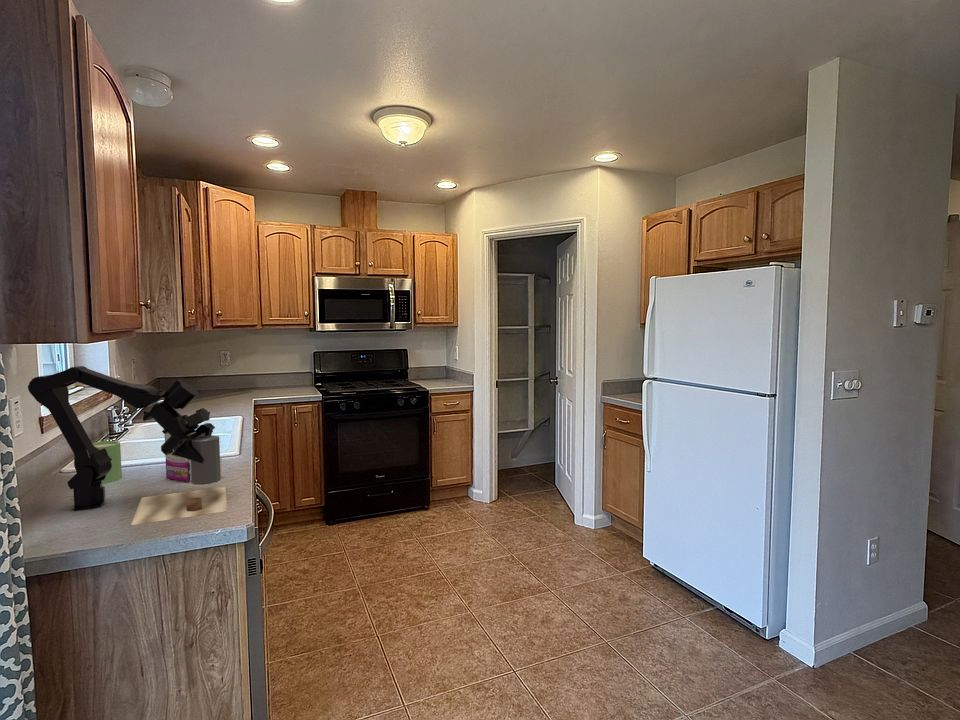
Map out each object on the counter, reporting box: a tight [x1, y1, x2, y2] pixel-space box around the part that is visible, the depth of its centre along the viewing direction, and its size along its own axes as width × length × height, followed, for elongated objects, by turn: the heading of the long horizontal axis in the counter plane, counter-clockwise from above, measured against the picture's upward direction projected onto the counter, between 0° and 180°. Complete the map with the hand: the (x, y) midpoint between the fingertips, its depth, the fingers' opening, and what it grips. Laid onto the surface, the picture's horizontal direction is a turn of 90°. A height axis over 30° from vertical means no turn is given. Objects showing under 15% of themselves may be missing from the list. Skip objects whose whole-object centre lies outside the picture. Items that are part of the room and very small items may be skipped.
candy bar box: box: [164, 433, 192, 483], centre depth 175 cm, size 11×5×16 cm, turn 68°
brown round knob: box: [186, 498, 202, 511], centre depth 145 cm, size 4×4×2 cm
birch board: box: [130, 486, 228, 526], centre depth 149 cm, size 22×24×1 cm
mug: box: [92, 440, 123, 485], centre depth 174 cm, size 13×10×12 cm
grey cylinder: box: [191, 435, 222, 486], centre depth 152 cm, size 7×7×12 cm
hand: (210, 458), depth 152 cm, fingers closed on grey cylinder, 7 cm apart
